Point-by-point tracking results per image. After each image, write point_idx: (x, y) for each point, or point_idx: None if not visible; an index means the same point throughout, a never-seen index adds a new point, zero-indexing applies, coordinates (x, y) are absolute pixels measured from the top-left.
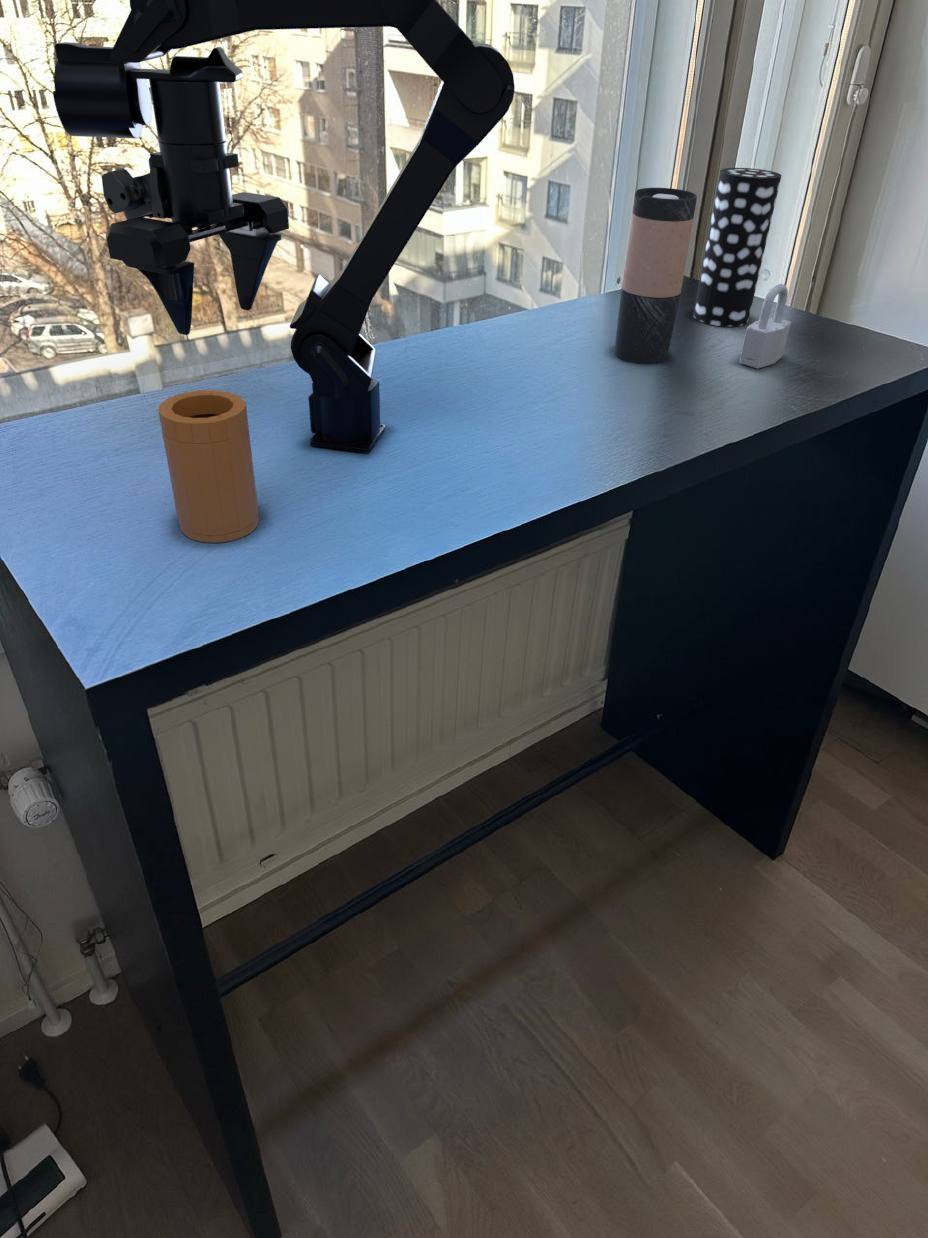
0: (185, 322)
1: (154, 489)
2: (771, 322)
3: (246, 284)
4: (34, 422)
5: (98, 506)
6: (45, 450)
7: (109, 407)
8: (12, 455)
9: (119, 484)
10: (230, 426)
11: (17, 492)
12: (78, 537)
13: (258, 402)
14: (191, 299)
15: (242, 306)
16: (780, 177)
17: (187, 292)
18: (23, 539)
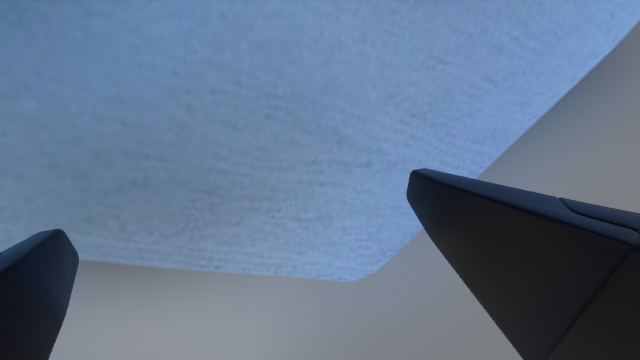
0: (469, 178)
1: (448, 27)
2: None
3: (4, 329)
4: (350, 274)
5: (507, 55)
6: (401, 216)
7: (273, 264)
8: (422, 226)
9: (448, 82)
10: None
11: (492, 156)
12: (581, 9)
13: (75, 142)
14: (536, 208)
15: (73, 257)
16: None
17: (617, 217)
18: (585, 63)
